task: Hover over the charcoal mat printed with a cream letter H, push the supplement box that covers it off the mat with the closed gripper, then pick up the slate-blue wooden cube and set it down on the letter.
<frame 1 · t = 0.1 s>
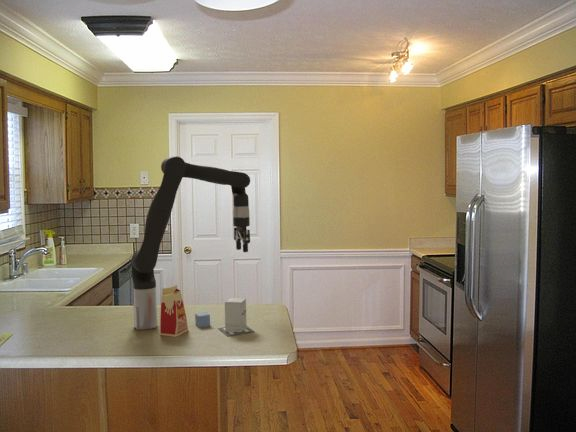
hand: (242, 250, 242), 29 cm above the counter, tool pointing down, fingers open, 8 cm apart
supplement box: (236, 330, 217), resting on letter mat
letter mat: (236, 330, 217), on the counter
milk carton: (173, 333, 215), on the counter
slate blue cube: (202, 325, 225), on the counter
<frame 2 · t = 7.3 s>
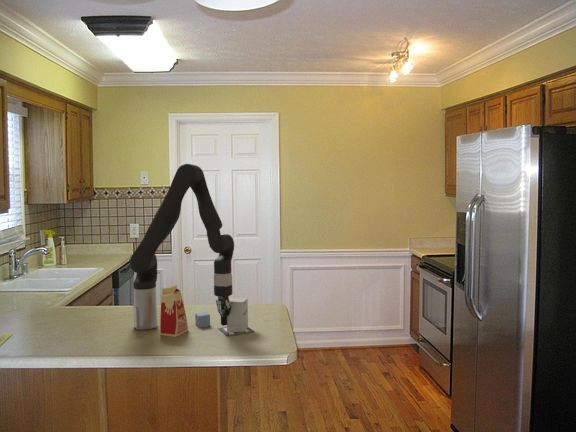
hand: (224, 324, 214), 3 cm above the counter, tool pointing down, fingers closed
supplement box: (237, 329, 217), resting on letter mat, touching gripper
everything else where it was.
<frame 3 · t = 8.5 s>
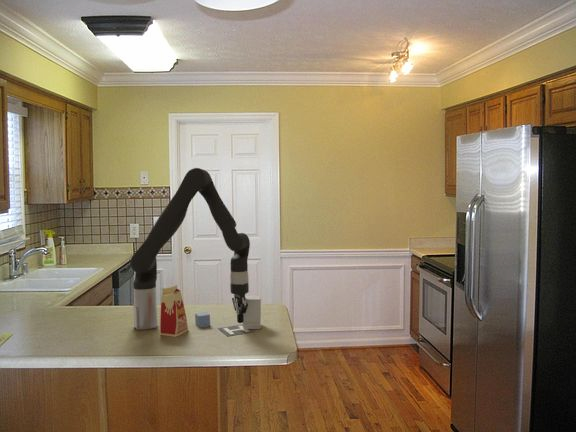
hand: (240, 322, 217), 3 cm above the counter, tool pointing down, fingers closed
supplement box: (251, 327, 221), on the counter, touching gripper
everything else where it was.
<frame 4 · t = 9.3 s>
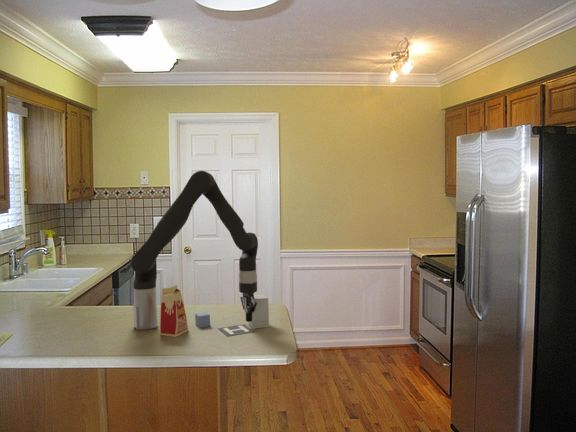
hand: (248, 321, 219), 3 cm above the counter, tool pointing down, fingers closed
supplement box: (258, 326, 223), on the counter, touching gripper
everything else where it was.
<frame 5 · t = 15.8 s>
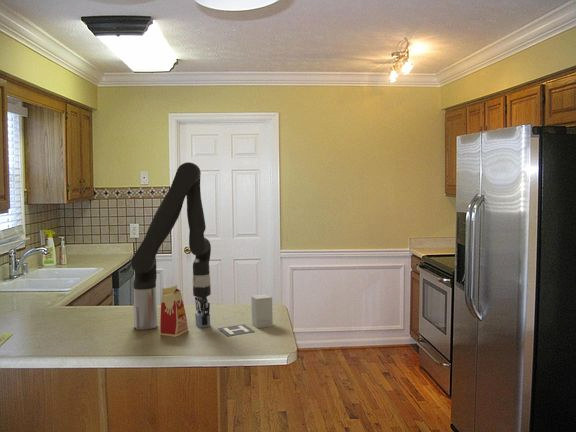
hand: (202, 323, 225), 1 cm above the counter, tool pointing down, fingers closed on slate blue cube, 5 cm apart
supplement box: (262, 325, 224), on the counter
slate blue cube: (202, 325, 225), on the counter, touching gripper
everything else where it was.
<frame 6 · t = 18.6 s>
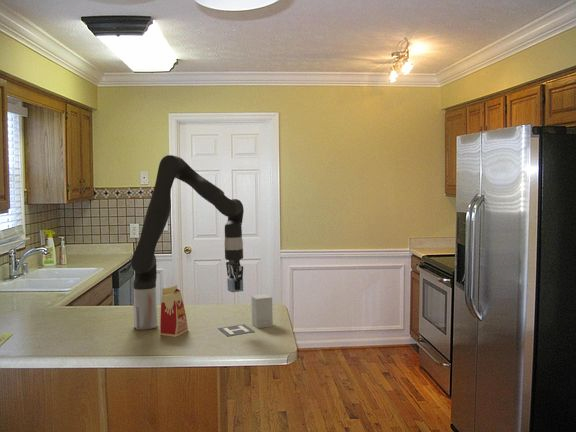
hand: (235, 288, 216), 18 cm above the counter, tool pointing down, fingers closed on slate blue cube, 5 cm apart
slate blue cube: (235, 290, 216), point 17 cm above the counter, touching gripper
everything else where it was.
when the fingers open (3 cm above the counter, at t = 21.9 s): slate blue cube drops 1 cm, resting on letter mat.
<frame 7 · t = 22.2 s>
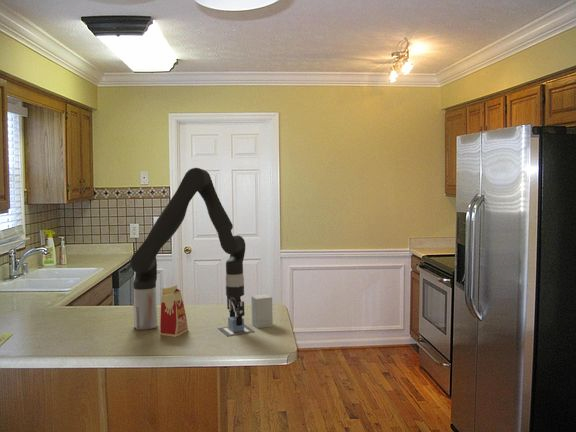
hand: (235, 322, 217), 3 cm above the counter, tool pointing down, fingers open, 7 cm apart
slate blue cube: (236, 329, 217), resting on letter mat
everything else where it was.
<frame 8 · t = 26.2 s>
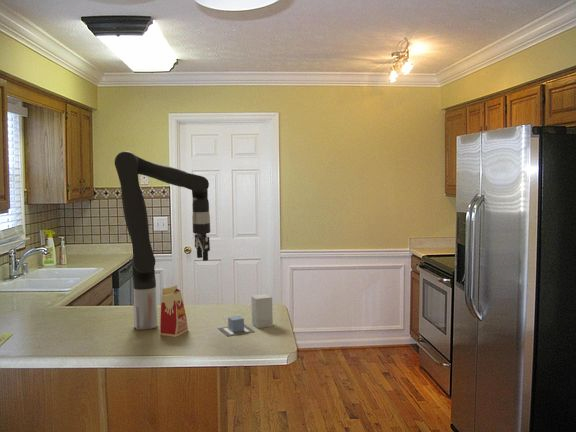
hand: (202, 259, 227), 28 cm above the counter, tool pointing down, fingers open, 8 cm apart
nothing on the counter moved.
at the end: slate blue cube inside the target area on the letter mat (0.1 cm from its centre), point 0.2 cm above the letter mat's base; supplement box touching counter; the gripper is holding nothing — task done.
